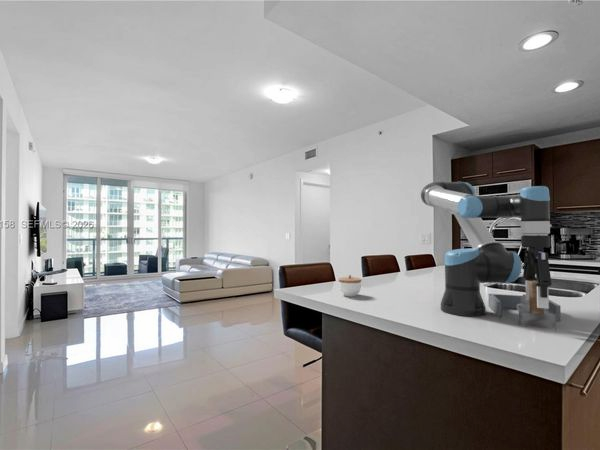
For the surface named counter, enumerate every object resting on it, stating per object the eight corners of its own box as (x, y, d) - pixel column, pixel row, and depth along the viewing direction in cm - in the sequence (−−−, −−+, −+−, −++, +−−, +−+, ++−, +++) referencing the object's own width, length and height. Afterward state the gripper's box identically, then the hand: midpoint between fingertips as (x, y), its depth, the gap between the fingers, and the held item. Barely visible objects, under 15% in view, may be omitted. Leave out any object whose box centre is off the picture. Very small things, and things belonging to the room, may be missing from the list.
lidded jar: (345, 292, 158) (345, 273, 158) (365, 294, 151) (365, 274, 151) (334, 295, 149) (334, 275, 149) (355, 298, 143) (355, 277, 143)
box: (497, 315, 113) (497, 301, 113) (488, 306, 127) (488, 293, 127) (560, 320, 106) (560, 305, 107) (544, 310, 121) (544, 296, 121)
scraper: (521, 325, 102) (520, 281, 102) (519, 323, 104) (518, 280, 105) (556, 328, 98) (555, 283, 99) (552, 325, 101) (551, 281, 101)
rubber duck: (539, 315, 113) (538, 293, 114) (526, 317, 111) (525, 294, 111) (524, 311, 119) (524, 290, 119) (511, 313, 116) (510, 291, 117)
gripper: (565, 235, 90) (566, 313, 89) (537, 234, 111) (538, 297, 111) (533, 235, 92) (534, 311, 92) (512, 234, 114) (513, 296, 114)
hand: (536, 303), depth 101 cm, fingers open, 10 cm apart
